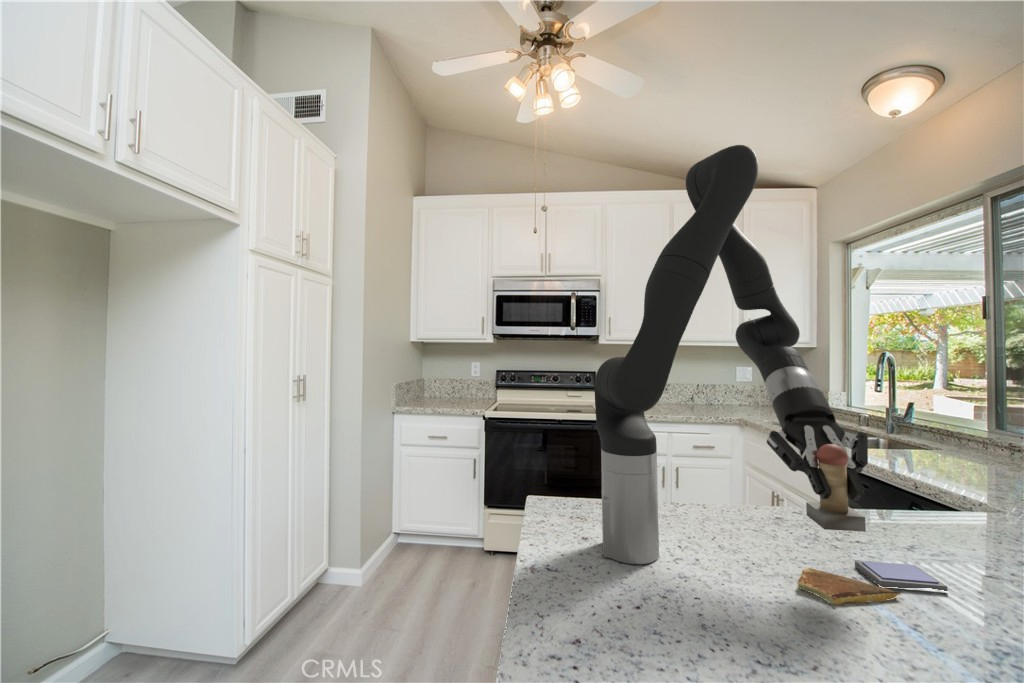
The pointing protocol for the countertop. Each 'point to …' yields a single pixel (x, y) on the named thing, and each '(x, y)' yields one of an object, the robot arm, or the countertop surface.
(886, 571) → the ink pad
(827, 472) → the stamp
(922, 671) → the countertop surface
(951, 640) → the countertop surface
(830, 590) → the brown flat slab
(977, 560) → the countertop surface
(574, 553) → the countertop surface
